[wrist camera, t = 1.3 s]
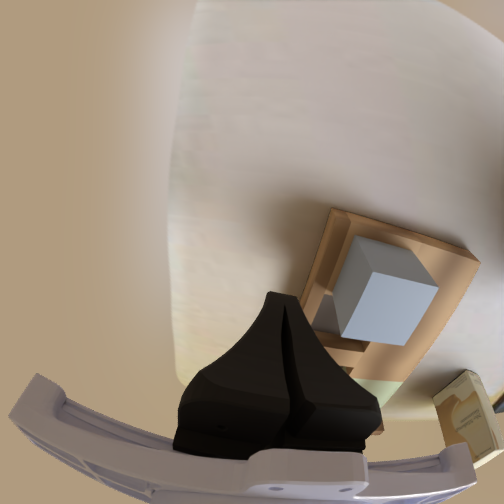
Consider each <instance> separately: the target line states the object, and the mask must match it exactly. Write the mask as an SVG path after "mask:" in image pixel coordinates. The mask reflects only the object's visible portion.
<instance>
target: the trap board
mask: <svg viewBox="0 0 504 504" xmlns="http://www.w3.org/2000/svg"><path fill="white" fill-rule="evenodd" d="M354 235H357V236H361V237H365V238H368V239H372V240H376V241H379V242H383V243H386V244H390V245H393V246H397V247H400V248H404V249H407V250H411V251H413V253H414V254H415V255H416V256H417V258H418V259H419V260H420V262H421V263H422V264H423V266H424V267H425V268H426V270H427V271H428V273H429V274H430V275H431V277H432V278H433V280H434V281H435V282H436V284H437V285H438V287H439V289H438V291H437V293H436V294H435V296H434V298H433V300H432V301H431V303H430V305H429V307H428V308H427V310H426V312H425V313H424V315H423V317H422V318H421V320H420V322H419V323H418V325H417V327H416V328H415V330H414V331H413V333H412V334H411V336H410V337H409V339H408V340H407V342H406V343H405V345H404V346H401V345H393V344H386V343H378V342H371V341H364V340H358V339H351V338H345V337H341V334H340V329H339V324H338V318H337V313H336V309H335V304H334V299H333V294H332V291H333V289H334V287H335V284H336V282H337V279H338V277H339V274H340V272H341V269H342V267H343V264H344V262H345V259H346V257H347V254H348V251H349V249H350V246H351V243H352V241H353V238H354ZM480 264H481V262H480V261H479V260H478V259H477V258H476V257H475V256H474V255H473V254H472V253H471V252H470V251H468V250H465V249H462V248H459V247H457V246H454V245H451V244H448V243H445V242H442V241H439V240H437V239H434V238H431V237H428V236H425V235H422V234H419V233H415V232H412V231H409V230H406V229H403V228H400V227H397V226H393V225H390V224H387V223H383V222H380V221H377V220H373V219H370V218H367V217H363V216H360V215H356V214H353V213H349V212H345V211H342V210H338V209H334V208H331V211H330V214H329V218H328V221H327V224H326V227H325V230H324V233H323V236H322V239H321V242H320V245H319V248H318V251H317V254H316V257H315V260H314V263H313V266H312V269H311V272H310V274H309V277H308V280H307V283H306V286H305V288H304V291H303V294H302V297H301V299H300V302H299V303H300V305H301V307H302V310H303V312H304V314H305V316H306V318H307V320H308V322H309V323H310V325H311V327H312V329H313V331H314V332H315V334H316V336H317V337H318V339H319V341H320V342H321V344H322V345H323V346H324V348H325V349H326V350H327V352H328V353H329V354H330V356H331V357H332V358H333V359H334V360H335V362H336V363H337V364H338V365H339V366H340V367H341V368H342V369H343V370H344V371H345V372H346V373H347V374H348V375H349V376H350V377H351V378H352V379H354V380H355V381H356V382H357V383H358V384H359V385H361V386H362V387H363V388H365V389H366V390H367V391H369V392H370V393H371V394H373V395H374V396H376V397H377V399H378V402H379V406H380V408H381V407H382V406H383V405H384V404H385V403H386V402H387V401H388V400H389V399H390V397H391V396H392V395H393V394H394V393H395V392H396V391H397V389H398V388H399V387H400V386H401V385H402V383H403V382H404V381H405V380H406V379H407V377H408V376H409V375H410V374H411V372H412V371H413V370H414V369H415V367H416V366H417V365H418V363H419V362H420V361H421V359H422V358H423V357H424V355H425V354H426V353H427V351H428V350H429V349H430V347H431V346H432V344H433V343H434V341H435V340H436V339H437V337H438V336H439V334H440V333H441V331H442V330H443V328H444V327H445V325H446V324H447V322H448V320H449V319H450V317H451V316H452V314H453V312H454V311H455V309H456V308H457V306H458V304H459V302H460V301H461V299H462V297H463V296H464V294H465V292H466V290H467V288H468V287H469V285H470V283H471V281H472V279H473V277H474V275H475V273H476V272H477V270H478V268H479V266H480ZM383 431H384V426H383V421H382V422H381V425H380V426H379V427H378V428H377V429H376V430H375V431H374V432H373V433H372V434H371V435H380V434H381V433H382V432H383Z"/></svg>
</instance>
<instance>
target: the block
mask: <svg viewBox="0 0 504 504" xmlns="http://www.w3.org/2000/svg"><path fill="white" fill-rule="evenodd" d="M438 289H439V287H438V285H437V284H436V282H435V281H434V280H433V278H432V277H431V275H430V274H429V273H428V271H427V270H426V268H425V267H424V266H423V264H422V263H421V262H420V260H419V259H418V258H417V256H416V255H415V254H414V253H413V251H411V250H407V249H404V248H400V247H397V246H393V245H390V244H386V243H383V242H379V241H376V240H372V239H368V238H365V237H361V236H357V235H354V238H353V241H352V243H351V246H350V249H349V251H348V254H347V257H346V259H345V262H344V264H343V267H342V269H341V272H340V274H339V277H338V279H337V282H336V284H335V287H334V289H333V291H332V294H333V299H334V304H335V309H336V313H337V318H338V324H339V329H340V334H341V337H345V338H351V339H358V340H364V341H371V342H378V343H386V344H393V345H401V346H404V345H405V343H406V342H407V340H408V339H409V337H410V336H411V334H412V333H413V331H414V330H415V328H416V327H417V325H418V323H419V322H420V320H421V318H422V317H423V315H424V313H425V312H426V310H427V308H428V307H429V305H430V303H431V301H432V300H433V298H434V296H435V294H436V293H437V291H438Z"/></svg>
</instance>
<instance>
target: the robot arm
mask: <svg viewBox="0 0 504 504" xmlns="http://www.w3.org/2000/svg"><path fill="white" fill-rule="evenodd" d="M9 418H10V419H11V421H12V422H13V423H14V424H15V425H16V426H17V427H18V428H19V429H20V431H21V432H22V433H23V434H24V435H25V436H26V437H27V438H28V439H29V440H30V441H31V442H32V443H33V444H34V445H36V446H37V447H39V448H40V449H42V450H43V451H45V452H47V453H48V454H50V455H51V456H53V457H55V458H56V459H58V460H60V461H61V462H63V463H65V464H67V465H68V466H70V467H72V468H74V469H75V470H77V471H79V472H81V473H83V474H85V475H86V476H88V477H90V478H92V479H94V480H96V481H98V482H100V483H102V484H104V485H106V486H108V487H110V488H113V489H115V490H117V491H120V492H122V493H124V494H126V495H129V496H131V497H134V498H136V499H139V500H142V501H144V502H147V503H149V504H437V503H440V502H443V501H445V500H447V499H449V498H451V497H453V496H455V495H456V494H458V493H460V492H462V491H464V490H466V489H467V488H469V487H470V486H472V485H474V484H476V483H477V478H476V474H475V470H474V466H473V462H472V458H471V455H470V451H469V448H468V444H467V442H464V443H459V444H454V445H451V446H449V447H447V448H445V449H444V450H442V451H441V452H440V453H439V454H436V455H430V456H424V457H417V458H410V459H402V460H393V461H382V462H367V458H366V457H365V456H364V455H363V453H362V450H364V449H365V447H366V446H365V439H367V438H368V437H369V436H370V435H371V434H372V433H373V432H374V431H375V430H376V429H377V428H378V427H379V426H380V425H381V422H382V416H381V410H380V406H379V402H378V399H377V397H376V396H374V395H373V394H371V393H370V392H369V391H367V390H366V389H365V388H363V387H362V386H361V385H359V384H358V383H357V382H356V381H355V380H354V379H352V378H351V377H350V376H349V375H348V374H347V373H346V372H345V371H344V370H343V369H342V368H341V367H340V366H339V365H338V364H337V363H336V362H335V360H334V359H333V358H332V357H331V356H330V354H329V353H328V352H327V350H326V349H325V348H324V346H323V345H322V344H321V342H320V341H319V339H318V337H317V336H316V334H315V332H314V331H313V329H312V327H311V325H310V323H309V322H308V320H307V318H306V316H305V314H304V312H303V310H302V307H301V305H300V303H299V301H298V299H297V297H295V296H290V295H286V294H281V293H276V292H272V291H270V292H268V293H267V295H266V299H265V302H264V305H263V308H262V310H261V311H260V313H259V315H258V317H257V318H256V320H255V321H254V323H253V324H252V325H251V327H250V328H249V329H248V331H247V332H246V333H245V334H244V335H243V337H242V338H241V339H240V340H239V341H238V342H237V343H236V344H235V345H234V346H233V347H232V348H231V349H230V350H228V351H227V352H226V353H225V354H223V355H222V356H221V357H220V358H218V359H217V360H216V361H214V362H213V363H211V364H210V365H208V366H206V367H205V368H203V369H202V370H200V371H199V372H198V373H197V374H196V375H195V377H194V378H193V379H192V381H191V382H190V383H189V385H188V386H187V388H186V389H185V391H184V393H183V395H182V397H181V401H180V404H179V408H178V427H177V430H176V434H175V437H174V440H173V439H170V438H167V437H163V436H160V435H157V434H153V433H151V432H148V431H145V430H142V429H139V428H136V427H133V426H131V425H128V424H125V423H123V422H120V421H117V420H115V419H113V418H110V417H108V416H105V415H103V414H101V413H98V412H96V411H94V410H92V409H89V408H87V407H85V406H83V405H81V404H79V403H77V402H75V401H73V400H71V399H69V398H67V397H66V394H65V392H64V390H63V389H62V388H61V387H60V386H59V385H57V384H56V383H54V382H52V381H51V380H49V379H47V378H45V377H44V376H42V375H40V374H38V373H36V374H35V375H34V377H33V378H32V380H31V381H30V383H29V384H28V386H27V387H26V389H25V390H24V392H23V393H22V395H21V396H20V398H19V399H18V401H17V403H16V404H15V406H14V407H13V409H12V410H11V412H10V414H9Z"/></svg>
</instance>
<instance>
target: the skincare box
mask: <svg viewBox="0 0 504 504" xmlns="http://www.w3.org/2000/svg"><path fill="white" fill-rule="evenodd" d="M433 401H434V405H435V408H436V411H437V415H438V418H439V422H440V426H441V429H442V433H443V437H444V441H445V445H446V448H447V447H449V446H451V445H454V444H459V443H464V442H467V444H468V448H469V451H470V455H471V458H472V462H473V466H474V469H476V468H477V467H479V466H481V465H483V464H484V463H486V462H488V461H489V460H491V459H492V458H494V457H495V456H497V455H498V454H500V453H501V452H503V451H504V440H503V437H502V434H501V431H500V428H499V425H498V422H497V419H496V416H495V413H494V411H493V408H492V406H491V403H490V400H489V398H488V395H487V393H486V391H485V388H484V386H483V383H482V381H481V379H480V377H479V376H478V375H477V374H475V373H473V372H470V371H468V370H466V371H465V372H464V373H462V374H461V375H460V376H459V377H458V378H457V379H455V380H454V381H453V382H452V383H451V384H449V385H448V386H447V387H446V388H444V389H443V390H442V391H441V392H439V393H438V394H437V395H435V396H434V397H433Z"/></svg>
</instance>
